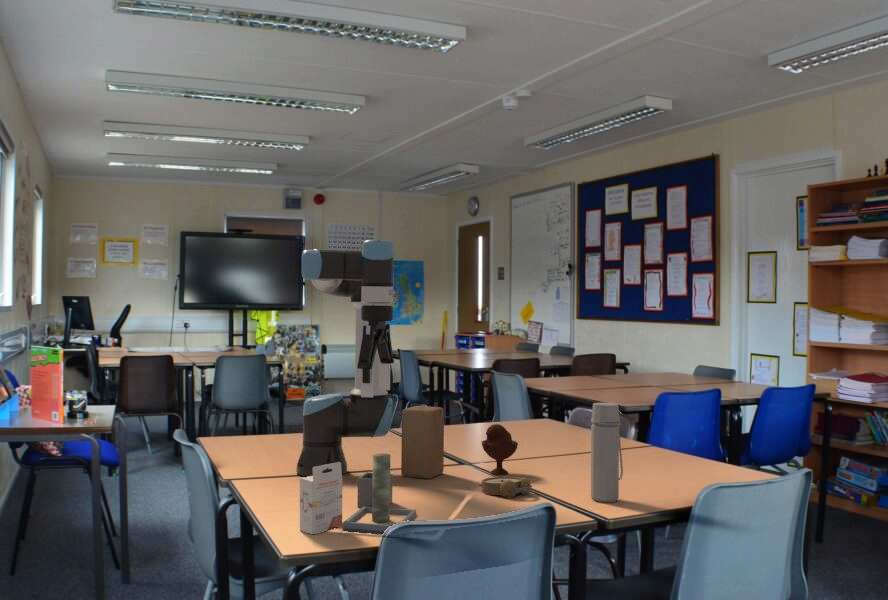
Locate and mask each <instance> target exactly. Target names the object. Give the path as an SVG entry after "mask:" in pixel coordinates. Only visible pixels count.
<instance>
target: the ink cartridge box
mask: <svg viewBox="0 0 888 600" xmlns="http://www.w3.org/2000/svg"><path fill="white" fill-rule="evenodd" d="M326 468H328V469H332V471H331V472H327V473H322V471H323V470H326ZM312 470H313V476H309V477H304V476H303V477H300V478H299V531H300V532H302V531H303V533H306V534H308V535H309V534H310V535H312V534H315V535H318V534H321V533H320V532H322V533H325V532H328V531H327V530H329V531H332V530H331V529H333V530H335V529H334V528H336V529H339V528H338V527H339V526H337V525H340V524H343V475H342V469H341V462H337V463H331V464H326V465H321V466H316V467H313V469H312ZM324 531H325V532H324ZM317 533H318V534H317Z"/></svg>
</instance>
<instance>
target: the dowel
mask: <svg viewBox="0 0 888 600" xmlns="http://www.w3.org/2000/svg"><path fill="white" fill-rule="evenodd" d="M372 473H373V490H372V512H371V519H372V520H371V522H373V523H374V524H386V523H389V522H390V521H391V516H390V508H391V504H390V474H391V454H390V453H383V452H382V453H374V454H373V455H372Z"/></svg>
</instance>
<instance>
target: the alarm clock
mask: <svg viewBox="0 0 888 600" xmlns="http://www.w3.org/2000/svg"><path fill="white" fill-rule="evenodd" d="M477 486H478V487H481V493H482V494H485V495H491V496H502V497H503V498H505V499H511V498H512V499H513V498H514V497H515V496H516V494H518V495H519V494H521V495H522V496H526V495H528V494H529V493H530V491H531V489H532V487H533V485H531V481H530V480H529V478H528V477H524V476H523V477H517V476H492V477H486V478H483V479H482V480H481V483H479V484H478V485H477Z"/></svg>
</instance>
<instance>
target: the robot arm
mask: <svg viewBox="0 0 888 600" xmlns="http://www.w3.org/2000/svg"><path fill="white" fill-rule="evenodd" d="M394 257H395V251H394V243H393V241H391V240H388V239H367V240H364V241H363V242H362V248H361V250H353V249H352V250H350V249H349V250H348V249H347V250H345V249H344V250H341V249H340V250H338V249H337V250H336V249H318V248H314V249H304V250H303V251H302V253H301V276H302V278H303V279H304V280H309V281H310V282H311V284H312V286H313V287H314V289H316V290H318V291H320V292H321V293H324V294H325V295H326V294H327V295H329V296H334V297H341V298H342V297H343V298H350V304H351V305H352V306H353V307H354V308H355V329H354V330H355V335H354V336H355V344H354V346H355V347H354V349H355V350H354V387H353V388H352V389H351V391H350V392H349V397H348V398H344V397H343V394H342V393H328V394H320V395H315V396H311V397H309V398H307V399H305V400H304V402H303V410H302V417H303V418H302V423H303V424H302V426H303V427H302V449H301V452H300V454H299V457H298V461H297V462H296V463H297V464H296V467H295V468H296V470H295V471H296V472H297V473H296V475H298V474H299V475H298V476H300V475H302V476H301V477H304V476H313V470H312V469H313V467H316V466H321V465H326V464H331V463H337V462H341V469H342V476H343V475H346V474H347V473H348V463H347V459H346V457H345V453H344V449H343V444H342V443H343V441H342V440H343V438H372V439H373V438H378V437H385V436H386V435H387V434H388V433H389V430H390V428H391V427H390V426H391V423H392V422H391V421H392V414H393V404H394V403H393V401H394V400H393V398H391V397H389V392H388V391H390V390H391V364H395V359H394V354H393V353H394V352H393V346H392V338H391V329H390V328H391V324H390V323H386V322H392V321H393V319H394V307H393V306H392V305H391V304H393V302H394V296H395V295H396V291H395V290H394V289H395V288H394ZM331 471H332V469H328V468H326V470H323V471H322V473H327V472H331Z"/></svg>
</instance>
